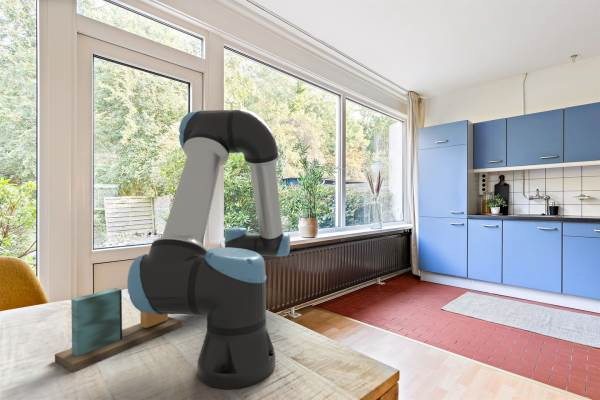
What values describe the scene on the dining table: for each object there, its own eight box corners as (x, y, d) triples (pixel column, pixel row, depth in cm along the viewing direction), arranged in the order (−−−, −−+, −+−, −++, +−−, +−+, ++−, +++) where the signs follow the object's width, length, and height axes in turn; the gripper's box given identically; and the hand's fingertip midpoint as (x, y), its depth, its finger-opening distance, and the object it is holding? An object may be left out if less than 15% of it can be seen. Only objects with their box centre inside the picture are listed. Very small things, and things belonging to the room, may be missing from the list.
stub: (162, 318, 82) (161, 277, 82) (167, 319, 81) (167, 278, 81) (140, 326, 77) (140, 282, 77) (146, 328, 76) (145, 283, 76)
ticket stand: (162, 320, 86) (162, 274, 86) (181, 326, 81) (181, 277, 81) (54, 361, 64) (54, 299, 64) (72, 372, 60) (71, 306, 60)
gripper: (233, 296, 93) (162, 323, 73) (198, 289, 101) (125, 311, 81) (232, 271, 93) (162, 291, 73) (197, 266, 101) (125, 282, 81)
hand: (143, 302), depth 77 cm, fingers closed on stub, 2 cm apart
